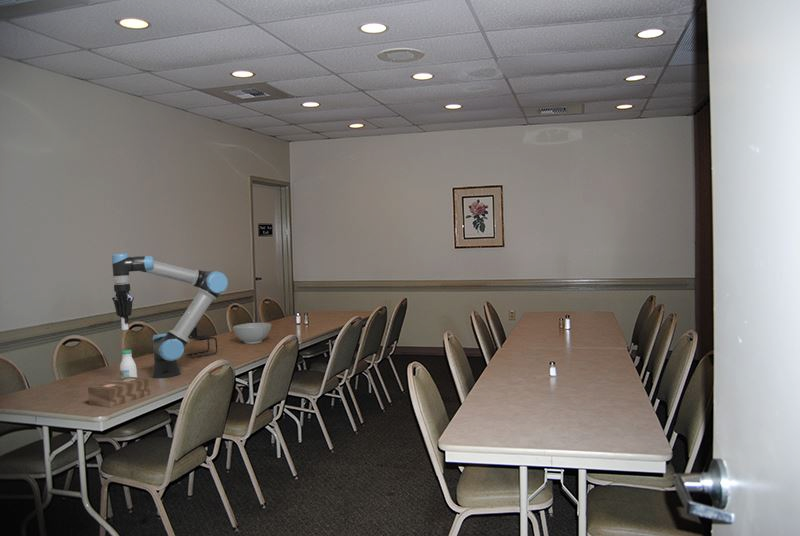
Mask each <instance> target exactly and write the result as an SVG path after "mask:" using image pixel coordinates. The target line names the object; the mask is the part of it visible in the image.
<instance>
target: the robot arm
mask: <svg viewBox="0 0 800 536" xmlns="http://www.w3.org/2000/svg"><path fill="white" fill-rule="evenodd" d="M111 259H112V260H111V266H112V267H111V268H112V277H113V284H114V285H113V291H114V293H115V296H114V297H112V298H111V299H112V301H113V304H114V308H115V312H116V316H118V317H119V318H120V324H121V330H122V331H127V330H129V316H131V315H132V313H133V311H132V309H133V301H134V300H135V299H134V297H133V296H131V294H130V291H131V284H130V283H131V281H130V280H131V277H130V273H131V272H141V273H146V274H150V275H154V276H158V277H163V278H167V279H170V280H171V279H172V280H175V281H179V282H183V283H187V284H190V285H191V286H192V287H196V288H197V290H198V293H197V294H196V296H195V297H194V298H193V300H192V301H191V303H190V304H189V306H188V308H186V310H185V312H184V313H183V314H182V316H181V317H180V319H179V321H178V322H177V323H176V325H175V326H174V327H173V329H171V330H168V331H167V332H166V333H160V334H153V336H152V348H153V366H152V370H151V377H152V378H156V379H157V378H158V379H161V378H162V379H163V378H171V377H175V376H179V375H181V374H182V369H181V367H180V365H179V362H178V359H180V358H181V357H182V356H183V354H184V351H185V347H186V345H187V344H188V343H189V340H188V338H189V337H188V336H189V335H190V333H191V332H192V330H193V329H194V328H195V326H196V327H197V324H198V323H199V321H200V320H201V318H202V317H203V315H204V314H205V312H206V311H207V309H208V308H209V306H210V305H211V304H212V301H215V300H218V297H220V295H221V294H222V293H223V292H225V291H226V290H227V288H228V285H229V279H228V278H227V276H226V275H225V274H224V273H223V272H220V271H216V270H215V271H213V270H212V271H211V270H201V269H194V270H193V269H190V268H185V267H182V266H178V265H174V264H170V263H166V262H162V261H159V260H154V257H153V256H152V255H144V256H143V255H142V256H140V255H139V256H137V255H134V256H129V254H128V253H113V254H112V257H111Z"/></svg>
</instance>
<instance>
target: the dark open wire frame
mask: <svg viewBox="0 0 800 536" xmlns="http://www.w3.org/2000/svg"><path fill="white" fill-rule="evenodd" d="M197 328H198V327H197V325H196V326H195V327H194V329H193V330H192V332H191V333H190V335H189V336H188V338H189V339H191V340H193V339H194V340H196V341H199V342H200V341H207V350H205V351H197V352H192V353H191V352H190V353H187V354H185V357H186V356H187V357H186V358H190V357H191V358H190V359H195V358H194V357H198V358H203V357H202V356H204V357H208V355H209V356H214V355H216V354H217V353H218V352H219V351H218V350H219V349H218V339H217V338H216V337H214V336H208V335H206V334H205V335H204V334H203V335H198V329H197ZM212 339H213V340H214V341H215V351H214V352H212V353H208V352H209V351H210V340H212ZM205 352H206V354H205ZM198 353H201V354H200V355H199V354H198ZM207 353H208V354H207ZM192 354H195V356H194V355H192Z"/></svg>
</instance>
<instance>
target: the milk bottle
mask: <svg viewBox="0 0 800 536" xmlns="http://www.w3.org/2000/svg"><path fill="white" fill-rule="evenodd" d="M132 355H133V354H132V349H124V350H121V356H122V358H121V362H120V365H119V379H121V378H125V377H138V370H137V365H136V362H135V360H134V358H133V357H132Z"/></svg>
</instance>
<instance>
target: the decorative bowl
mask: <svg viewBox="0 0 800 536" xmlns="http://www.w3.org/2000/svg"><path fill="white" fill-rule="evenodd" d="M232 329H233V332H234V335H236V337H237V338H238V339H239V340H241V341H243V343H244V344H247V345H248V344H250V345H252V344H259V343H262V342H263V340H264V339H266V338H267V336H268V335H269V333H270V332H271V329H272V323H270V322H247V323H241V324H237V325H234V326H233V327H232Z"/></svg>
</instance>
